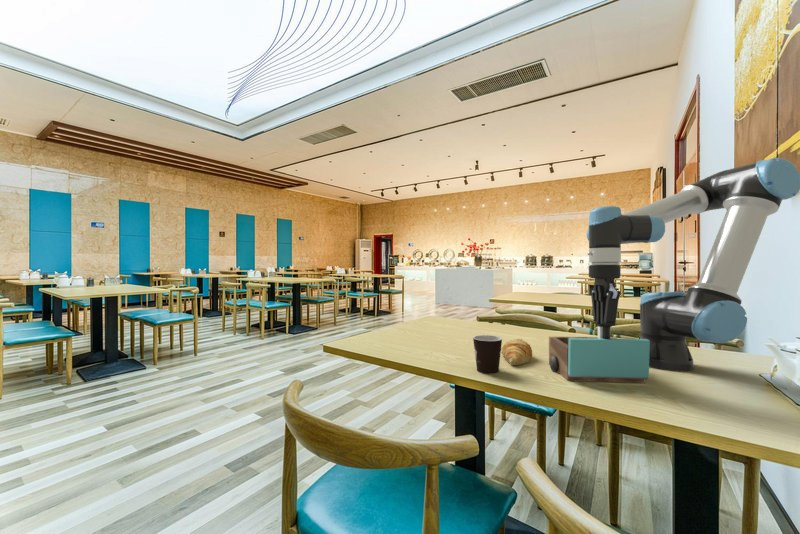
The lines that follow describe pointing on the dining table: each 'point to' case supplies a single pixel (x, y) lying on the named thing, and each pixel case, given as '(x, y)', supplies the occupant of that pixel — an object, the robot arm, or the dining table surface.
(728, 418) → the dining table surface
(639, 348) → the tailgate
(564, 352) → the cart
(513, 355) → the croissant
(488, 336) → the coffee mug
